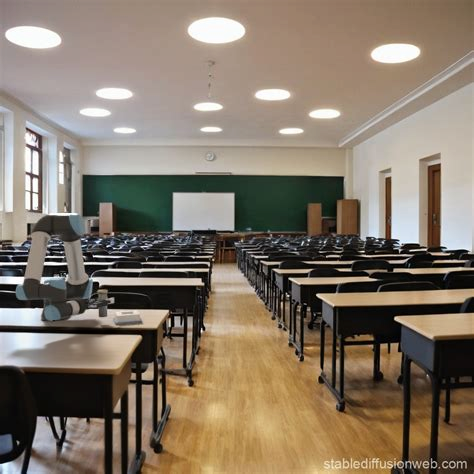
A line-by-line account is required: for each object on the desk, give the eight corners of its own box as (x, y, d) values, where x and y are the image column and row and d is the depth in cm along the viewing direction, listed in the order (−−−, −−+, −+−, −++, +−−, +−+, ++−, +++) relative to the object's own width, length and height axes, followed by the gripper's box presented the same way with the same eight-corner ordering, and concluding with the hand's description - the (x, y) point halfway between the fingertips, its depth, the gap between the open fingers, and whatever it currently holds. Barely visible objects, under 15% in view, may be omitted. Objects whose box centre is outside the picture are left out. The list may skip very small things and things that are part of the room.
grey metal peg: (97, 315, 237) (97, 290, 236) (107, 314, 239) (107, 289, 238) (98, 317, 232) (97, 291, 232) (108, 317, 234) (107, 290, 233)
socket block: (113, 319, 246) (113, 311, 246) (138, 317, 251) (138, 309, 251) (115, 324, 233) (115, 316, 233) (142, 322, 238) (142, 314, 238)
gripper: (63, 313, 224) (99, 305, 244) (87, 317, 215) (122, 308, 236) (63, 298, 224) (98, 291, 244) (86, 301, 215) (121, 294, 235)
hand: (110, 299), depth 240 cm, fingers closed on grey metal peg, 4 cm apart
